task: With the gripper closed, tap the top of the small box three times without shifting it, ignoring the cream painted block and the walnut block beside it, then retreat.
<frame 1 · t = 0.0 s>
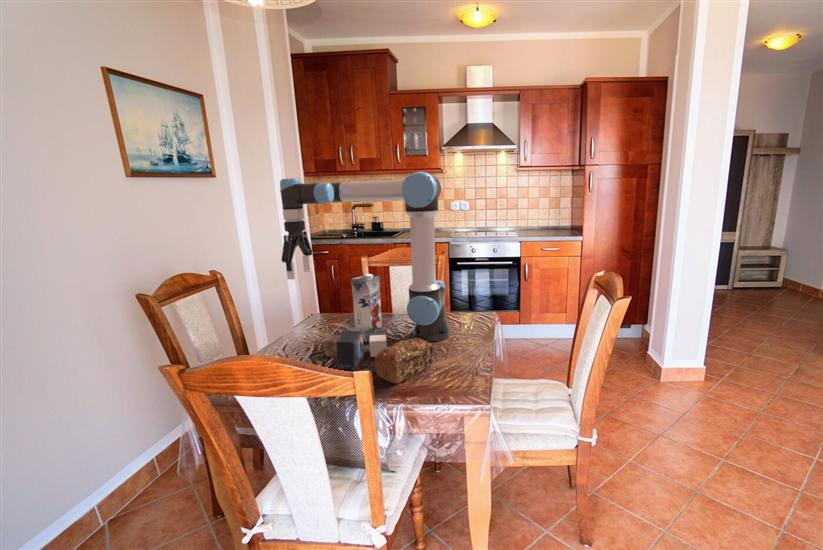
hand: (299, 275, 153), 28 cm above the table, fingers open, 13 cm apart
small box: (351, 364, 138), on the table
walnut block: (336, 353, 148), on the table
juice carton: (369, 338, 161), on the table
cream block: (378, 353, 146), on the table
bread: (405, 371, 131), on the table
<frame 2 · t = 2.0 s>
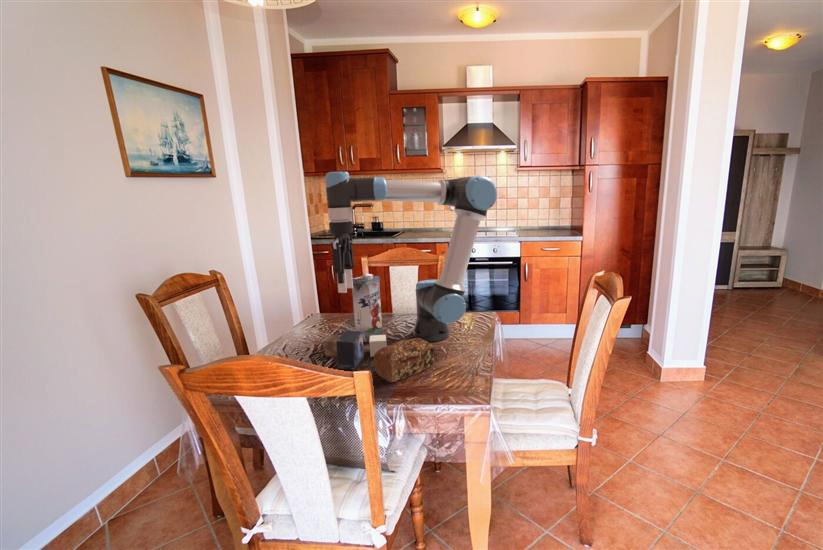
hand: (345, 290, 132), 27 cm above the table, fingers open, 5 cm apart
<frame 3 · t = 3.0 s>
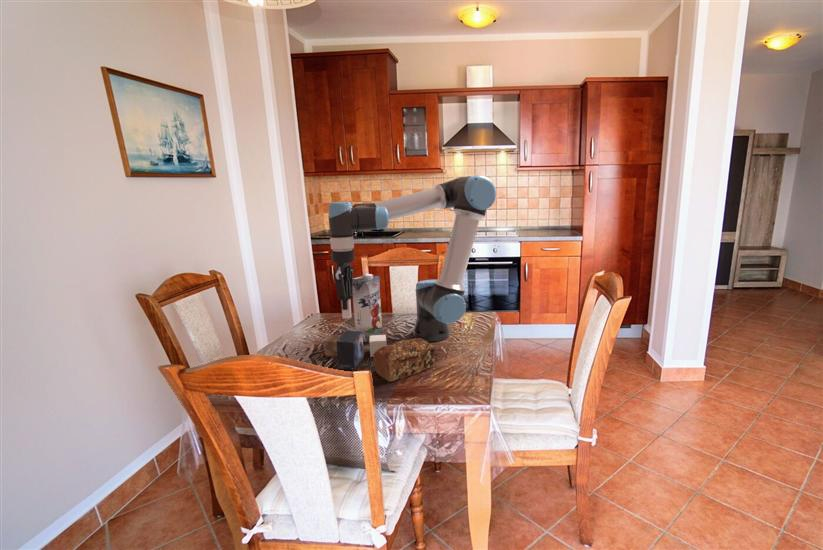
hand: (347, 317, 134), 17 cm above the table, fingers closed
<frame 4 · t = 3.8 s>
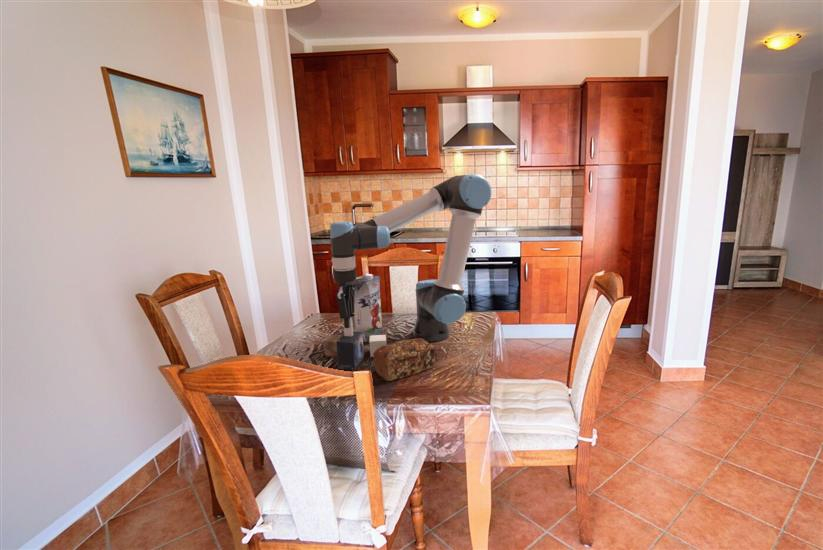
hand: (348, 335, 136), 11 cm above the table, fingers closed
small box: (351, 364, 138), on the table, touching gripper
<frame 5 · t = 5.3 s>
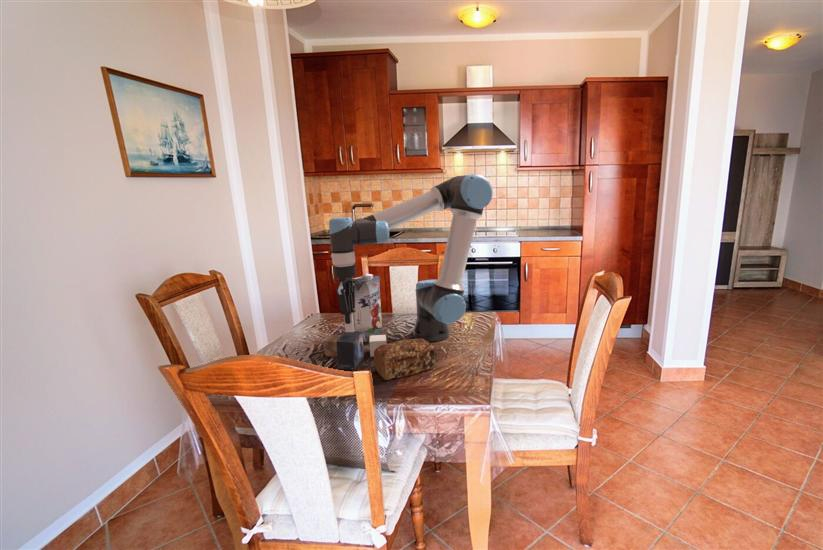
hand: (350, 331, 136), 12 cm above the table, fingers closed
small box: (351, 364, 138), on the table
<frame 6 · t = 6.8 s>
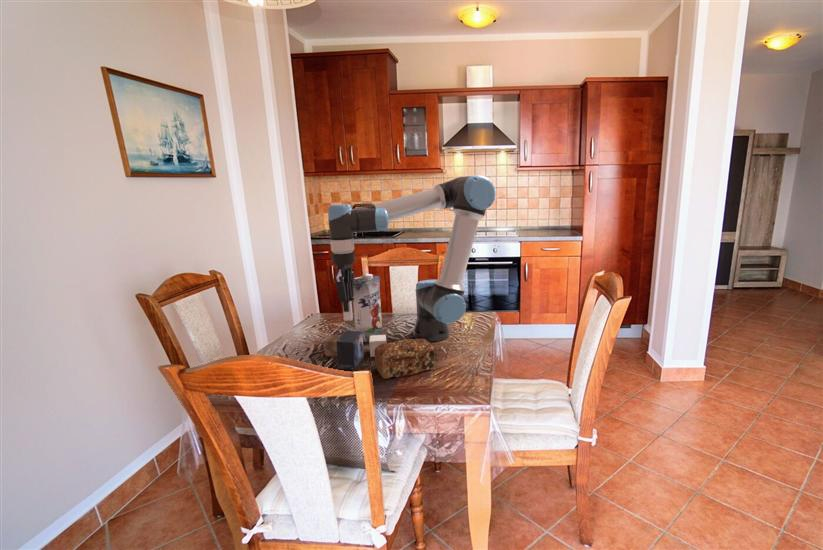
hand: (348, 319, 135), 16 cm above the table, fingers closed
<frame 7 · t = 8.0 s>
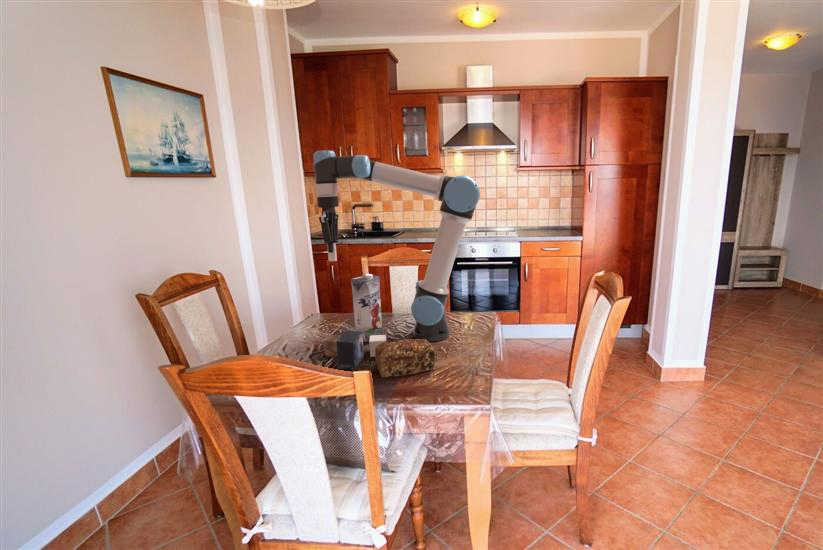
hand: (332, 260, 146), 34 cm above the table, fingers closed
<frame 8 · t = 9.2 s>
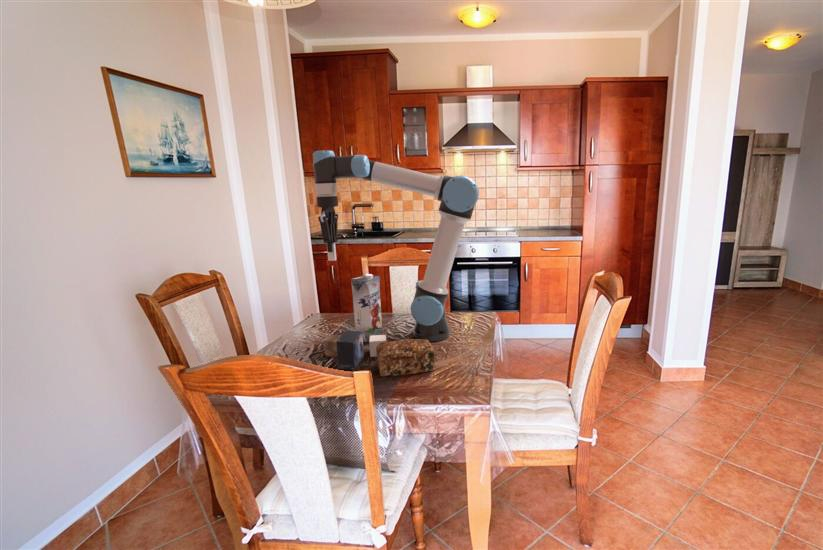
hand: (332, 260, 146), 34 cm above the table, fingers closed
at the end: small box moved 0.3 cm from its start; small box tilted 0°; walnut block moved 0.1 cm from its start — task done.
